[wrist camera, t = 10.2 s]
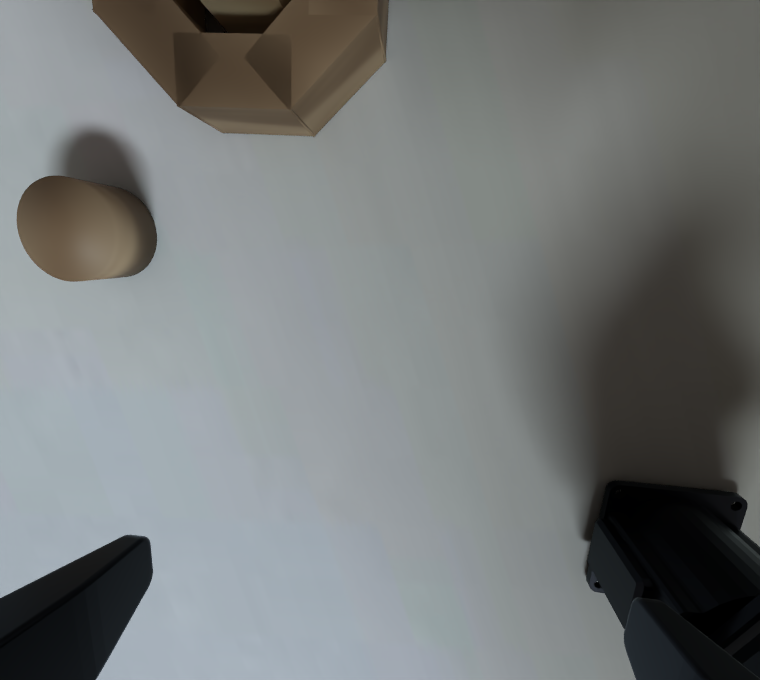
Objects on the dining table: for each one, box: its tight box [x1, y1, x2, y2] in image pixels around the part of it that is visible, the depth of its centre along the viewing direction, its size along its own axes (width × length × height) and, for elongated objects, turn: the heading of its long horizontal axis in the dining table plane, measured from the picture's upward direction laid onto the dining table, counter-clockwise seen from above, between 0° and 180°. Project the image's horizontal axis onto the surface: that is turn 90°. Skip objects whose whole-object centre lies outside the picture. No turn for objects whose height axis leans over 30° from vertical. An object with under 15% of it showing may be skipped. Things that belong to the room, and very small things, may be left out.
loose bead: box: [17, 176, 157, 281], centre depth 18 cm, size 4×4×3 cm
